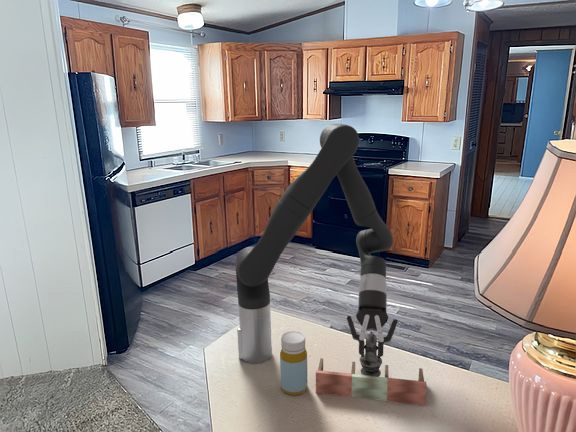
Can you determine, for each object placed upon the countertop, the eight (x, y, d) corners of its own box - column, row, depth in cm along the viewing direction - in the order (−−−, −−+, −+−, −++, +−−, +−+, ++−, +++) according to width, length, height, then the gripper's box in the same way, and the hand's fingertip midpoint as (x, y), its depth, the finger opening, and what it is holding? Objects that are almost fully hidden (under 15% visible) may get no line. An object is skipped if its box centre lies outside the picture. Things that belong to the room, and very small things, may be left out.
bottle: (294, 376, 118) (293, 327, 114) (312, 387, 113) (312, 336, 109) (275, 387, 113) (273, 337, 109) (294, 400, 108) (293, 347, 104)
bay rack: (315, 392, 111) (315, 372, 109) (320, 370, 120) (320, 351, 118) (425, 405, 105) (426, 384, 104) (421, 381, 114) (422, 361, 113)
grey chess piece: (380, 365, 115) (381, 326, 112) (383, 379, 110) (384, 337, 107) (358, 365, 116) (359, 325, 113) (360, 378, 110) (360, 337, 107)
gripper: (346, 287, 116) (342, 351, 108) (399, 290, 113) (400, 356, 105) (347, 296, 122) (343, 358, 114) (398, 299, 120) (398, 363, 111)
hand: (370, 357), depth 110 cm, fingers closed on grey chess piece, 3 cm apart
